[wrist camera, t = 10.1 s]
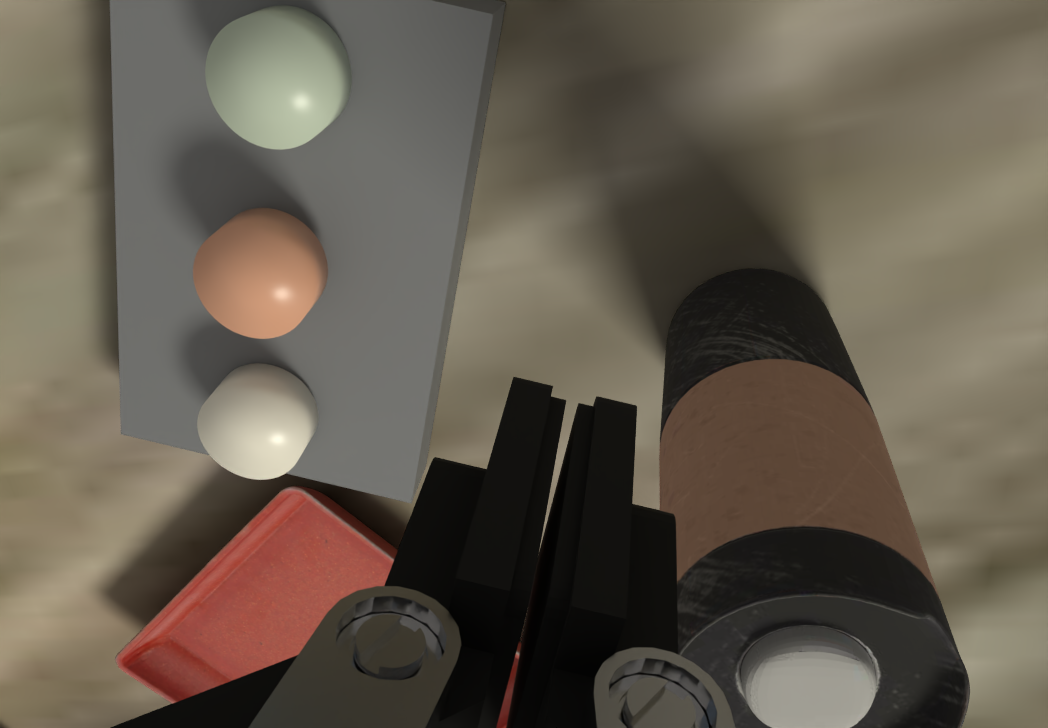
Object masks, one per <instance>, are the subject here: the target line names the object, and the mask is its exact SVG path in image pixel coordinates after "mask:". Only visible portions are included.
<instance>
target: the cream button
mask: <svg viewBox="0 0 1048 728" xmlns="http://www.w3.org/2000/svg"><path fill="white" fill-rule="evenodd" d="M317 425H318V409H317V405H316V402H315V400H314V397H313V396H312V394H311V392H310V391H309V389H308V388H307V387H306V386H305V384H304V383H303V382H302V381H301V380H299V379H298V378H297V377H296V376H294V375H293V374H291V373H290V372H288V371H286V370H284V369H282V368H280V367H277V366H273V365H269V364H262V363H254V364H247V365H243V366H240V367H238V368H236V369H234V370H233V371H232V372H230V373H229V374H228V375H227V376H226V377H225V379H224V380H223V381H222V382H221V383H220V385H219V386H218V387H217V388H216V389H215V391H214V392H213V393H212V394H211V395H210V396H209V398H208V399H207V400H206V401H205V403H204V404H203V405H202V407H201V409H200V411H199V415H198V420H197V428H198V434H199V437H200V440H201V442H202V444H203V446H204V448H205V449H206V451H207V452H208V453H209V455H210V456H211V457H212V458H213V459H214V460H215V461H216V462H217V463H218V464H220V465H221V466H222V467H224V468H225V469H227V470H228V471H230V472H232V473H234V474H236V475H239V476H242V477H245V478H250V479H257V480H267V479H273V478H276V477H279V476H281V475H284V474H285V473H287V472H288V471H290V470H291V469H292V468H293V467H294V465H295V464H296V463H297V461H298V460H299V458H300V456H301V455H302V453H303V451H304V450H305V448H306V446H307V445H308V443H309V441H310V440H311V438H312V436H313V435H314V433H315V431H316V428H317Z"/></svg>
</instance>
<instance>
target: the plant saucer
mask: <svg viewBox="0 0 1048 728" xmlns="http://www.w3.org/2000/svg"><path fill="white" fill-rule="evenodd" d="M397 551H398V550H397V549H396V548H394V547H393V546H392V545H391V544H389V543H388V542H387V541H385V540H384V539H383V538H381V537H380V536H379V535H377V534H376V533H375V532H374V531H372V530H371V529H370V528H368V527H367V526H366V525H364V524H363V523H362V522H360V521H359V520H358V519H357V518H355V517H354V516H353V515H351V514H350V513H349V512H347V511H346V510H345V509H343V508H342V507H341V506H339V505H338V504H337V503H335V502H334V501H333V500H332V499H330V498H329V497H327V496H326V495H324V494H322V493H320V492H318V491H316V490H314V489H311V488H307V487H302V486H291V487H287V488H285V489H283V490H282V491H280V492H279V493H278V494H277V495H276V496H275V497H274V498H273V499H272V500H271V501H270V502H269V503H268V504H267V505H266V506H265V507H264V508H263V509H262V510H261V511H260V512H259V513H258V514H257V515H256V516H255V517H254V518H253V519H252V520H251V521H250V522H249V523H248V524H247V525H246V526H245V527H244V528H243V529H242V530H241V531H240V532H239V533H238V534H237V535H236V536H235V537H233V538H232V539H231V540H230V541H229V542H228V543H227V544H226V545H225V546H224V547H223V548H222V549H221V550H220V551H219V552H218V553H217V554H216V555H215V556H214V557H213V558H212V559H211V560H210V561H209V562H208V563H207V564H206V566H205V567H204V568H203V569H202V570H201V571H200V572H199V573H198V574H197V575H196V576H195V577H194V578H193V579H192V580H191V581H190V582H189V583H188V584H187V585H186V586H185V587H184V588H183V589H182V590H181V591H180V592H179V593H178V594H177V595H176V596H175V597H174V598H173V599H172V600H171V601H170V602H169V603H168V604H167V605H166V606H165V607H164V608H163V609H162V610H161V611H160V612H159V613H158V614H157V615H156V616H155V617H154V618H153V619H152V620H151V621H150V622H149V623H148V624H147V625H146V626H145V627H144V628H143V629H142V630H141V631H140V632H139V633H138V634H137V635H136V636H135V637H134V638H133V639H132V640H131V641H130V642H129V643H128V644H127V645H126V646H125V647H124V648H123V649H122V650H121V651H120V652H119V653H118V654H117V655H116V657H115V660H116V663H117V665H118V667H119V668H120V669H121V670H122V671H124V672H125V673H127V674H128V675H130V676H131V677H133V678H134V679H136V680H137V681H139V682H140V683H142V684H143V685H145V686H146V687H148V688H149V689H151V690H152V691H154V692H155V693H157V694H159V695H160V696H162V697H163V698H164V699H166V700H168V701H170V702H171V703H172V704H173V703H175V702H178V701H181V700H183V699H186V698H188V697H191V696H193V695H196V694H199V693H201V692H204V691H206V690H209V689H211V688H214V687H217V686H219V685H222V684H224V683H227V682H230V681H232V680H235V679H237V678H240V677H242V676H245V675H248V674H250V673H253V672H255V671H258V670H260V669H263V668H266V667H268V666H271V665H273V664H276V663H278V662H281V661H284V660H286V659H289V658H291V657H294V656H297V655H299V653H300V652H301V650H302V649H303V647H304V646H305V644H306V643H307V641H308V640H309V638H310V637H311V636H312V634H313V633H314V631H315V630H316V628H317V627H318V625H319V624H320V622H321V621H322V620H323V618H324V617H325V615H326V614H327V612H328V611H329V610H330V609H331V608H332V607H333V606H334V605H335V604H336V603H337V602H338V601H339V600H340V599H342V598H344V597H346V596H348V595H350V594H352V593H353V592H355V591H357V590H362V589H366V588H370V587H375V586H384V585H385V583H386V580H387V577H388V575H389V572H390V569H391V567H392V564H393V562H394V559H395V556H396V554H397ZM520 649H521V643H520V642H519V644H518V647H517V651H516V655H515V659H514V663H513V666H512V670H511V674H510V678H509V682H508V685H507V689H506V693H505V697H504V701H503V704H502V708H501V712H500V716H499V720H498V723H497V727H496V728H506V726H507V720H508V715H509V709H510V704H511V698H512V693H513V687H514V682H515V676H516V671H517V665H518V660H519V654H520Z"/></svg>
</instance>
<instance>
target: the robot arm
mask: <svg viewBox="0 0 1048 728" xmlns="http://www.w3.org/2000/svg"><path fill="white" fill-rule="evenodd" d="M552 388H553V386H551V385H546V384H542V383H538V382H533V381H529V380H525V379H521V378H516V377H513V380H512V384H511V387H510V391H509V394H508V398H507V401H506V405H505V408H504V412H503V415H502V419H501V422H500V425H499V429H498V432H497V436H496V439H495V443H494V446H493V450H492V453H491V457H490V460H489V464H488V467H487V469H483V468H479V467H474V466H470V465H466V464H462V463H457V462H453V461H449V460H445V459H441V458H436V457H435V458H434V459H433V461H432V463H431V465H430V468H429V470H428V473H427V475H426V478H425V481H424V483H423V486H422V488H421V491H420V494H419V496H418V499H417V502H416V504H415V507H414V509H413V512H412V515H411V517H410V520H409V522H408V525H407V528H406V530H405V533H404V536H403V538H402V541H401V543H400V546H399V549H398V551H397V554H396V556H395V559H394V562H393V564H392V567H391V569H390V572H389V575H388V577H387V580H386V583H385V585H384V586H375V587H370V588H366V589H362V590H357V591H355V592H353V593H352V594H350V595H348V596H346V597H344V598H342V599H340V600H339V601H338V602H337V603H336V604H335V605H334V606H333V607H332V608H331V609H330V610H329V611H328V612H327V614H326V615H325V617H324V618H323V620H322V621H321V622H320V624H319V625H318V627H317V628H316V630H315V631H314V633H313V634H312V636H311V637H310V638H309V640H308V641H307V643H306V644H305V646H304V647H303V649H302V650H301V652H300V653H299V655H297V656H294V657H291V658H289V659H286V660H284V661H281V662H278V663H276V664H273V665H271V666H268V667H266V668H263V669H260V670H258V671H255V672H253V673H250V674H248V675H245V676H242V677H240V678H237V679H235V680H232V681H230V682H227V683H224V684H222V685H219V686H217V687H214V688H211V689H209V690H206V691H204V692H201V693H199V694H196V695H193V696H191V697H188V698H186V699H183V700H181V701H178V702H175V703H173V704H170V705H168V706H165V707H163V708H160V709H157V710H155V711H152V712H150V713H147V714H144V715H142V716H139V717H137V718H134V719H132V720H129V721H126V722H124V723H121V724H119V725H116V726H114V727H111V728H496V727H497V723H498V720H499V716H500V712H501V708H502V704H503V701H504V697H505V693H506V689H507V685H508V682H509V678H510V674H511V670H512V666H513V663H514V659H515V655H516V651H517V647H518V644H519V640H520V636H521V632H522V628H523V625H524V621H525V617H526V621H525V627H524V632H523V638H522V643H521V649H520V654H519V660H518V665H517V671H516V676H515V682H514V687H513V693H512V698H511V704H510V709H509V715H508V720H507V726H506V728H735V725H734V721H733V717H732V713H731V709H730V707H729V705H728V702H727V700H726V698H725V695H724V693H723V691H722V690H721V689H720V687H719V686H718V685H717V684H716V682H715V681H714V680H713V679H712V677H711V676H710V675H709V674H707V673H706V672H705V671H704V670H702V669H701V668H700V667H699V666H697V665H696V664H695V663H694V662H692V661H690V660H688V659H686V658H684V657H682V656H680V655H678V610H677V549H676V519H675V516H674V514H672V513H668V512H664V511H660V510H656V509H651V508H647V507H643V506H639V505H635V504H632V496H633V476H634V457H635V437H636V417H637V406H636V405H631V404H627V403H623V402H619V401H614V400H610V399H606V398H602V397H596V399H595V402H594V405H593V406H589V405H585V404H580V403H579V404H578V407H577V410H576V414H575V418H574V421H573V425H572V429H571V433H570V437H569V441H568V444H567V448H566V452H565V456H564V460H563V464H562V467H561V471H560V475H559V479H558V483H557V486H556V490H555V494H554V498H553V502H552V506H551V509H550V513H549V517H548V521H547V525H546V529H545V532H544V536H543V540H542V544H541V548H540V543H541V537H542V532H543V526H544V521H545V515H546V510H547V504H548V499H549V493H550V488H551V482H552V476H553V471H554V465H555V460H556V454H557V449H558V443H559V438H560V432H561V427H562V421H563V415H564V410H565V404H566V400H563V399H559V398H555V397H551V393H552ZM539 549H540V552H539ZM538 554H539V555H538ZM527 609H528V610H527ZM526 613H527V616H526Z"/></svg>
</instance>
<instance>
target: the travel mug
mask: <svg viewBox="0 0 1048 728" xmlns="http://www.w3.org/2000/svg"><path fill="white" fill-rule="evenodd" d="M659 461H660V511H664V512H668V513H672V514H674V516H675V519H676V549H677V610H678V655H680V656H682V657H684V658H686V659H688V660H690V661H692V662H694V663H695V664H696V665H697V666H699V667H700V668H701V669H702V670H704V671H705V672H706V673H707V674H709V675H710V676H711V677H712V679H713V680H714V681H715V682H716V684H717V685H718V686H719V687H720V689H721V690H722V691H723V693H724V695H725V698H726V700H727V702H728V705H729V707H730V709H731V713H732V717H733V721H734V725H735V728H961V727H962V724H963V722H964V718H965V715H966V712H967V709H968V703H969V696H970V685H969V679H968V674H967V671H966V668H965V666H964V664H963V662H962V659H961V657H960V655H959V652H958V649H957V647H956V644H955V641H954V638H953V635H952V632H951V630H950V627H949V624H948V621H947V618H946V615H945V613H944V610H943V607H942V604H941V601H940V599H939V596H938V593H937V590H936V587H935V584H934V581H933V579H932V576H931V573H930V570H929V567H928V564H927V561H926V559H925V556H924V553H923V550H922V547H921V544H920V542H919V539H918V536H917V533H916V530H915V527H914V525H913V522H912V519H911V516H910V513H909V510H908V507H907V505H906V502H905V499H904V496H903V493H902V490H901V488H900V485H899V482H898V479H897V476H896V473H895V470H894V468H893V465H892V462H891V459H890V456H889V453H888V451H887V448H886V445H885V442H884V439H883V436H882V434H881V431H880V428H879V425H878V422H877V419H876V417H875V415H874V412H873V410H872V407H871V405H870V403H869V401H868V398H867V396H866V394H865V391H864V389H863V387H862V385H861V382H860V380H859V378H858V376H857V373H856V371H855V369H854V366H853V364H852V362H851V360H850V357H849V355H848V353H847V351H846V348H845V346H844V344H843V341H842V339H841V337H840V335H839V332H838V330H837V328H836V326H835V324H834V322H833V320H832V317H831V316H830V314H829V312H828V310H827V308H826V306H825V305H824V303H823V302H822V301H821V299H820V298H819V297H818V296H817V295H816V294H815V293H814V292H813V291H812V290H811V289H810V288H809V287H807V286H806V285H805V284H804V283H802V282H800V281H798V280H797V279H795V278H793V277H791V276H788V275H786V274H783V273H780V272H776V271H772V270H765V269H744V270H737V271H732V272H728V273H725V274H722V275H719V276H717V277H715V278H713V279H711V280H709V281H707V282H705V283H704V284H702V285H701V286H699V287H698V288H697V289H696V290H694V291H693V292H692V293H691V294H690V295H689V296H688V297H687V298H686V299H685V300H684V302H683V303H682V304H681V306H680V307H679V309H678V310H677V312H676V314H675V316H674V318H673V320H672V323H671V326H670V328H669V334H668V339H667V346H666V358H665V373H664V388H663V403H662V418H661V433H660V455H659Z"/></svg>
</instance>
